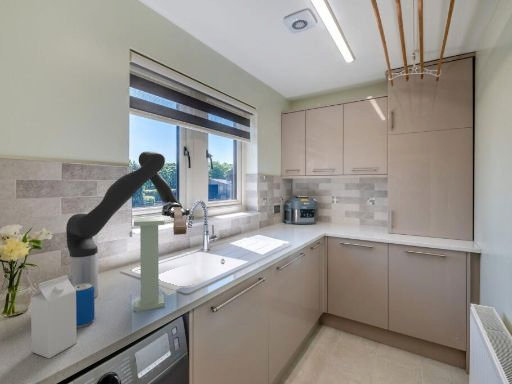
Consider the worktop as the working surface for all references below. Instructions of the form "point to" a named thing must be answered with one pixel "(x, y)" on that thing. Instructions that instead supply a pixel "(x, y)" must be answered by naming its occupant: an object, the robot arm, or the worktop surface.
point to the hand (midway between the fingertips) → (178, 214)
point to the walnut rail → (179, 222)
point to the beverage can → (84, 304)
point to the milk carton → (53, 317)
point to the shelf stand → (149, 264)
